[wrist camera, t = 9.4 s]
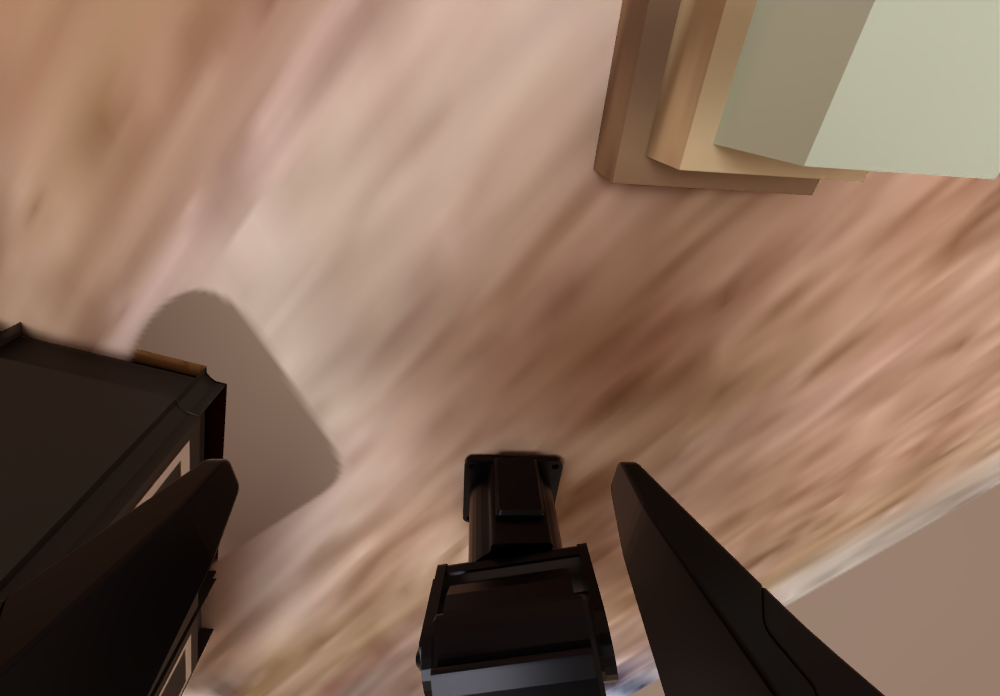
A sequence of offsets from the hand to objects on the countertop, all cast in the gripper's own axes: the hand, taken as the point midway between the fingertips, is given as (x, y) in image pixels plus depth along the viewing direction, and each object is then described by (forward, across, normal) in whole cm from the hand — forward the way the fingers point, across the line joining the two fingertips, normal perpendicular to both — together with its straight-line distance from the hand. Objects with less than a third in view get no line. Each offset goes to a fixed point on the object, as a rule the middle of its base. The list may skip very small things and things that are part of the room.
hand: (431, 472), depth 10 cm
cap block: (+6, -10, -9) cm, 15 cm away
